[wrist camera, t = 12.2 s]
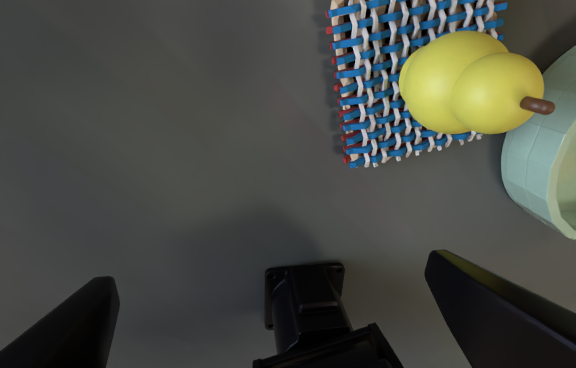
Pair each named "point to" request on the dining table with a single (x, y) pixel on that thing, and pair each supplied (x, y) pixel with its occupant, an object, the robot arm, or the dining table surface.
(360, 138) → the woven mat
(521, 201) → the pan
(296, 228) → the dining table surface
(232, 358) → the dining table surface
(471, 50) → the pear
